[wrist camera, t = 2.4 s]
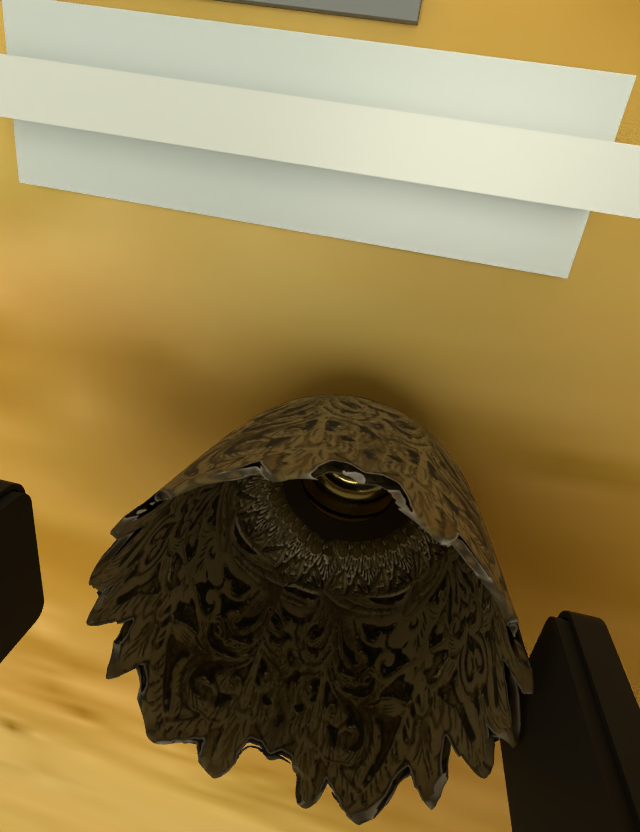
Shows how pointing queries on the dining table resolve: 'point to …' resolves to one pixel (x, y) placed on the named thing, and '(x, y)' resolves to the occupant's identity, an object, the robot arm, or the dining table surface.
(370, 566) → the ornate metal lamp shade
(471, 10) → the dining table surface
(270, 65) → the low wall
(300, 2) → the rest pad
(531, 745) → the robot arm
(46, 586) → the dining table surface
